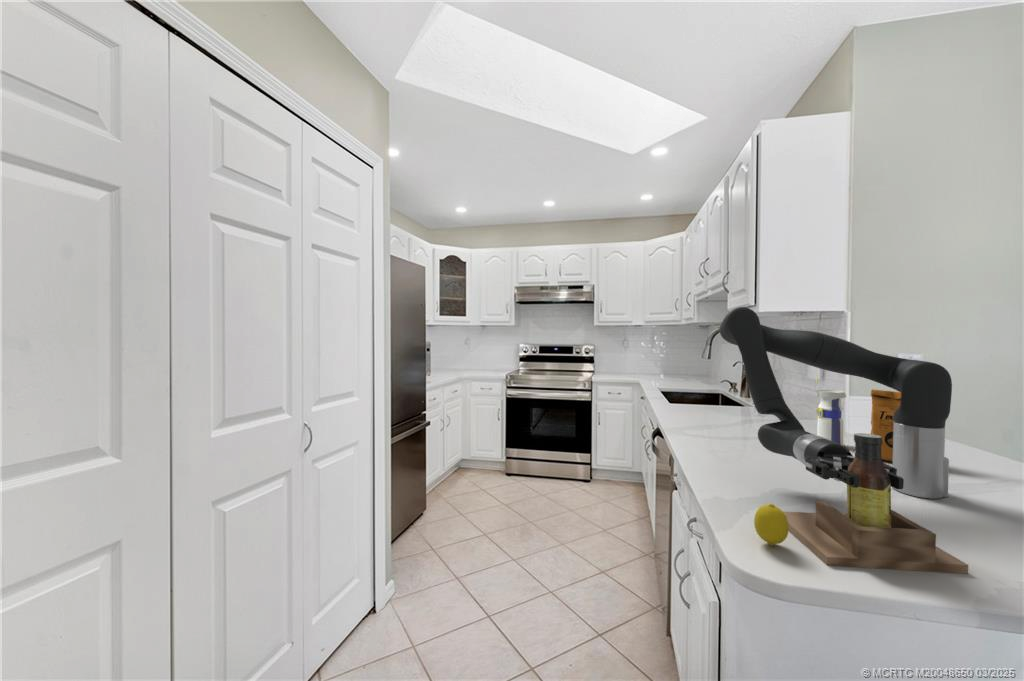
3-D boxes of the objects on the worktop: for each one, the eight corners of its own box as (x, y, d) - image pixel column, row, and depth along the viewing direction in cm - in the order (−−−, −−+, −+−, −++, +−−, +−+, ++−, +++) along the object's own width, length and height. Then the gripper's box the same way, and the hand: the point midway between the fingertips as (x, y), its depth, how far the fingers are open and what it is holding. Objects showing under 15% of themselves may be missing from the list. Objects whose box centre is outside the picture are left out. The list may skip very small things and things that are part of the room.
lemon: (747, 538, 81) (748, 498, 80) (773, 537, 81) (774, 497, 81) (767, 553, 75) (768, 511, 75) (795, 552, 76) (796, 509, 75)
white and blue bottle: (823, 448, 140) (825, 376, 140) (810, 441, 149) (811, 373, 148) (850, 449, 139) (852, 376, 138) (835, 442, 147) (836, 373, 147)
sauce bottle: (899, 551, 73) (902, 440, 73) (859, 547, 74) (862, 438, 74) (875, 533, 79) (877, 432, 79) (838, 530, 81) (840, 430, 80)
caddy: (884, 523, 87) (884, 492, 86) (968, 573, 69) (969, 535, 69) (773, 517, 89) (774, 488, 89) (826, 565, 71) (827, 528, 71)
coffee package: (923, 469, 119) (925, 394, 118) (867, 460, 128) (868, 390, 127) (922, 461, 126) (924, 391, 126) (869, 453, 135) (870, 387, 134)
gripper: (786, 437, 91) (836, 461, 75) (856, 439, 89) (923, 464, 73) (786, 470, 91) (835, 501, 75) (856, 472, 90) (922, 505, 73)
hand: (878, 483), depth 74 cm, fingers open, 7 cm apart
